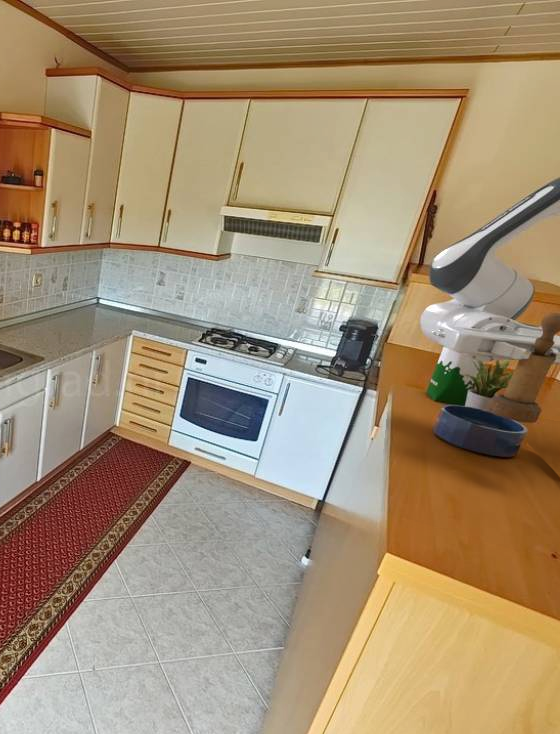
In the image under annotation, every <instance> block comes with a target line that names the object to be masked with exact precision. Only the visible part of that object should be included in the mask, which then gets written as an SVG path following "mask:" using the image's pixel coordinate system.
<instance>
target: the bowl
mask: <svg viewBox="0 0 560 734" xmlns="http://www.w3.org/2000/svg"><path fill="white" fill-rule="evenodd" d="M432 431H433V433H434V435H437V436H438V437H439V438H441V439H443V440H444V441H445V442H447V443H449V444H452V445H453V446H456V447H458V448H461V449H464V450H467V451H470V452H473V453H477V454H481V455H484V456H485V455H486V456H491V457H501V458H502V457H503V458H504V457H506V458H511V457H515V456H516V455H518V452H519V450H520V448H521V446H522V444H523V441H524V439H525V438H526V435H527V433H528V431H529V429H528V427H526V425H523V423H521V422H519V421H515V420H510V419H507V418H503V417H500V416H498V415H495V414H493V413H491V412H489V411H485V410H481V409H477V408H472V407H467V406H461V405H452V404H444V405H442V406H441V408H440V410H439V413H438V415H437V418H436V420H435V422H434V425H433V427H432Z"/></svg>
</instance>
